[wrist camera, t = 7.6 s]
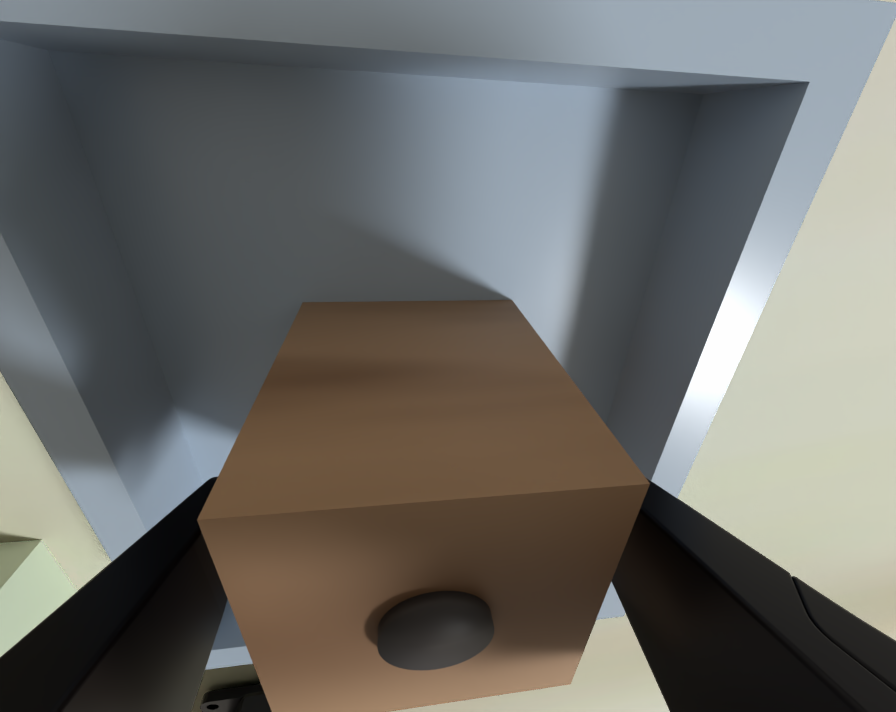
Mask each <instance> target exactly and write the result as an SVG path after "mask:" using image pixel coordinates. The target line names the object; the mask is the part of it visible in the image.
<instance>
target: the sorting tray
mask: <svg viewBox="0 0 896 712" xmlns="http://www.w3.org/2000/svg"><path fill="white" fill-rule="evenodd" d="M895 18H896V3H893V2H884V1H875V0H0V372H1V373H2V375H3V377H4V378H5V380H6V382H7V384H8V385H9V387H10V389H11V390H12V392H13V394H14V396H15V397H16V399H17V401H18V402H19V404H20V406H21V407H22V409H23V411H24V413H25V414H26V416H27V418H28V419H29V421H30V423H31V425H32V426H33V428H34V430H35V431H36V433H37V435H38V436H39V438H40V440H41V442H42V443H43V445H44V447H45V448H46V450H47V452H48V454H49V455H50V457H51V459H52V460H53V462H54V464H55V465H56V467H57V469H58V471H59V472H60V474H61V476H62V477H63V479H64V481H65V483H66V484H67V486H68V488H69V489H70V491H71V493H72V495H73V496H74V498H75V500H76V501H77V503H78V505H79V506H80V508H81V510H82V512H83V513H84V515H85V517H86V518H87V520H88V522H89V524H90V525H91V527H92V529H93V530H94V532H95V534H96V535H97V537H98V539H99V541H100V542H101V544H102V546H103V547H104V549H105V551H106V553H107V554H108V556H109V558H110V559H111V561H113V560H115V559H116V558H117V557H118V556H119V555H120V554H122V553H123V552H124V551H125V550H126V549H127V548H129V547H130V546H131V545H132V544H133V543H135V542H136V541H137V540H138V539H139V538H140V537H142V536H143V535H144V534H145V533H146V532H147V531H149V530H150V529H151V528H152V527H153V526H154V525H156V524H157V523H158V522H159V521H160V520H161V519H163V518H164V517H165V516H166V515H167V514H169V513H170V512H171V511H172V510H173V509H174V508H176V507H177V506H178V505H179V504H180V503H181V502H183V501H184V500H185V499H186V498H187V497H188V496H190V495H191V494H192V493H193V492H194V491H195V490H197V489H198V488H199V487H200V486H201V485H202V484H204V483H205V482H206V481H207V480H209V479H210V478H212V477H218V476H219V474H220V472H221V470H222V468H223V466H224V463H225V461H226V459H227V457H228V455H229V453H230V451H231V449H232V447H233V445H234V443H235V441H236V439H237V437H238V435H239V433H240V431H241V428H242V426H243V424H244V422H245V420H246V418H247V416H248V414H249V412H250V410H251V408H252V406H253V404H254V402H255V400H256V398H257V396H258V393H259V391H260V389H261V387H262V385H263V383H264V381H265V379H266V377H267V375H268V373H269V371H270V369H271V367H272V365H273V363H274V361H275V359H276V356H277V354H278V352H279V350H280V348H281V346H282V344H283V342H284V340H285V338H286V336H287V334H288V332H289V330H290V328H291V326H292V324H293V321H294V319H295V317H296V315H297V313H298V311H299V309H300V307H301V305H302V303H303V302H371V301H459V300H513V302H514V303H515V304H516V306H517V307H518V308H519V310H520V311H521V312H522V314H523V315H524V316H525V318H526V319H527V320H528V322H529V323H530V324H531V326H532V327H533V328H534V330H535V331H536V332H537V334H538V335H539V336H540V338H541V339H542V340H543V342H544V343H545V344H546V346H547V347H548V348H549V350H550V351H551V352H552V354H553V355H554V356H555V358H556V359H557V360H558V362H559V363H560V364H561V366H562V367H563V368H564V370H565V371H566V372H567V374H568V375H569V376H570V378H571V379H572V380H573V382H574V383H575V384H576V386H577V387H578V388H579V390H580V391H581V392H582V394H583V395H584V396H585V398H586V399H587V400H588V402H589V403H590V404H591V406H592V407H593V408H594V410H595V411H596V412H597V414H598V415H599V416H600V418H601V419H602V420H603V422H604V423H605V424H606V426H607V427H608V428H609V430H610V431H611V432H612V434H613V435H614V436H615V438H616V439H617V440H618V442H619V443H620V444H621V446H622V447H623V448H624V450H625V451H626V452H627V454H628V455H629V456H630V458H631V459H632V460H633V462H634V463H635V464H636V466H637V467H638V468H639V470H640V471H641V472H642V474H643V475H644V476H645V477H646V478H648V479H649V480H651V481H652V482H654V483H655V484H657V485H658V486H660V487H661V488H663V489H664V490H666V491H667V492H669V493H670V494H672V495H673V496H675V497H676V498H678V495H679V493H680V491H681V489H682V487H683V484H684V482H685V480H686V478H687V476H688V473H689V471H690V469H691V467H692V465H693V462H694V460H695V458H696V456H697V454H698V451H699V449H700V447H701V445H702V443H703V440H704V438H705V436H706V434H707V432H708V429H709V427H710V425H711V423H712V421H713V418H714V416H715V414H716V412H717V410H718V407H719V405H720V403H721V401H722V399H723V396H724V394H725V392H726V390H727V388H728V385H729V383H730V381H731V379H732V377H733V374H734V372H735V370H736V368H737V366H738V363H739V361H740V359H741V357H742V355H743V352H744V350H745V348H746V346H747V344H748V341H749V339H750V337H751V335H752V333H753V330H754V328H755V326H756V324H757V322H758V319H759V317H760V315H761V313H762V311H763V308H764V306H765V304H766V302H767V300H768V297H769V295H770V293H771V291H772V289H773V286H774V284H775V282H776V280H777V278H778V275H779V273H780V271H781V269H782V267H783V264H784V262H785V260H786V258H787V256H788V253H789V251H790V249H791V247H792V245H793V242H794V240H795V238H796V236H797V234H798V231H799V229H800V227H801V225H802V223H803V220H804V218H805V216H806V214H807V212H808V209H809V207H810V205H811V203H812V201H813V198H814V196H815V194H816V192H817V190H818V187H819V185H820V183H821V181H822V179H823V176H824V174H825V172H826V170H827V168H828V165H829V163H830V161H831V159H832V157H833V154H834V152H835V150H836V148H837V145H838V143H839V141H840V139H841V137H842V134H843V132H844V130H845V128H846V126H847V123H848V121H849V119H850V117H851V115H852V112H853V110H854V108H855V106H856V104H857V101H858V99H859V97H860V95H861V93H862V90H863V88H864V86H865V84H866V82H867V79H868V77H869V75H870V73H871V71H872V68H873V66H874V64H875V62H876V60H877V57H878V55H879V53H880V51H881V49H882V46H883V44H884V42H885V40H886V38H887V35H888V33H889V31H890V29H891V27H892V24H893V22H894V20H895ZM624 614H625V610H624V608H623V606H622V604H621V601H620V599H619V597H618V595H617V593H616V590H615V588H614V586H613V584H612V582H611V583H610V586H609V588H608V591H607V593H606V596H605V598H604V601H603V603H602V606H601V609H600V611H599V614H598V616H597V619H596V620H598V619H605V618H613V617H621V616H624ZM246 664H253V662H252V660H251V657H250V655H249V652H248V649H247V647H246V644H245V642H244V639H243V637H242V634H241V631H240V629H239V626H238V624H237V621H236V619H235V616H234V614H233V611H232V608H231V606H230V603H229V601H228V600H227V603H226V607H225V610H224V613H223V617H222V620H221V623H220V626H219V629H218V632H217V635H216V638H215V641H214V644H213V647H212V650H211V653H210V656H209V659H208V662H207V665H206V669H205V670H207V669H215V668H223V667H231V666H239V665H246Z"/></svg>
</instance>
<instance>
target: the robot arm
mask: <svg viewBox="0 0 896 712" xmlns="http://www.w3.org/2000/svg"><path fill="white" fill-rule="evenodd" d="M217 478H218V477H212V478H210V479H209V480H207V481H206V482H205V483H204V484H202V485H201V486H200V487H199V488H198V489H197V490H195V491H194V492H193V493H192V494H191V495H190V496H188V497H187V498H186V499H185V500H184V501H183V502H181V503H180V504H179V505H178V506H177V507H176V508H174V509H173V510H172V511H171V512H170V513H169V514H167V515H166V516H165V517H164V518H163V519H161V520H160V521H159V522H158V523H157V524H156V525H154V526H153V527H152V528H151V529H150V530H149V531H147V532H146V533H145V534H144V535H143V536H142V537H140V538H139V539H138V540H137V541H136V542H135V543H133V544H132V545H131V546H130V547H129V548H127V549H126V550H125V551H124V552H123V553H122V554H120V555H119V556H118V557H117V558H116V559H115V560H113V561H112V562H111V563H110V564H109V565H108V566H106V567H105V568H104V569H103V570H102V571H101V572H99V573H98V574H97V575H96V576H95V577H94V578H92V579H91V580H90V581H89V582H88V583H86V584H85V585H84V586H83V587H82V588H81V589H79V590H78V591H77V592H76V593H75V594H74V595H72V596H71V597H70V598H69V599H68V600H67V601H65V602H64V603H63V604H62V605H61V606H60V607H58V608H57V609H56V610H55V611H54V612H52V613H51V614H50V615H49V616H48V617H47V618H45V619H44V620H43V621H42V622H41V623H40V624H38V625H37V626H36V627H35V628H34V629H33V630H31V631H30V632H29V633H28V634H27V635H26V636H24V637H23V638H22V639H21V640H20V641H19V642H17V643H16V644H15V645H14V646H13V647H11V648H10V649H9V650H8V651H7V652H6V653H4V654H3V655H2V656H1V657H0V712H191V711H192V708H193V705H194V702H195V699H196V696H197V693H198V690H199V687H200V684H201V681H202V678H203V675H204V672H205V669H206V665H207V662H208V659H209V656H210V653H211V650H212V647H213V644H214V641H215V638H216V635H217V632H218V629H219V626H220V623H221V620H222V617H223V613H224V610H225V607H226V603H227V600H228V598H227V596H226V593H225V591H224V588H223V585H222V583H221V580H220V578H219V575H218V573H217V570H216V567H215V565H214V562H213V560H212V557H211V555H210V552H209V550H208V547H207V544H206V542H205V539H204V537H203V534H202V532H201V529H200V526H199V524H198V521H197V519H198V517H199V515H200V513H201V511H202V509H203V507H204V505H205V503H206V501H207V498H208V496H209V494H210V492H211V490H212V488H213V486H214V484H215V482H216V480H217ZM645 478H646V477H645ZM646 479H647V480H648V482H649V483H650V485H649V487H648V490H647V493H646V495H645V498H644V500H643V503H642V505H641V508H640V510H639V513H638V515H637V518H636V520H635V523H634V525H633V528H632V530H631V533H630V535H629V538H628V540H627V543H626V545H625V548H624V551H623V553H622V556H621V558H620V561H619V563H618V566H617V568H616V571H615V573H614V576H613V578H612V581H611V582H612V584H613V586H614V588H615V590H616V593H617V595H618V597H619V599H620V601H621V604H622V606H623V608H624V610H625V613H626V615H627V617H628V619H629V621H630V624H631V626H632V628H633V630H634V633H635V635H636V637H637V639H638V641H639V644H640V646H641V648H642V650H643V653H644V655H645V657H646V659H647V661H648V664H649V666H650V668H651V670H652V673H653V675H654V677H655V679H656V681H657V684H658V686H659V688H660V690H661V693H662V695H663V697H664V699H665V701H666V704H667V706H668V708H669V710H670V712H896V641H895V640H894V639H892V638H890V637H889V636H887V635H885V634H884V633H882V632H881V631H879V630H877V629H876V628H874V627H872V626H871V625H869V624H867V623H866V622H864V621H863V620H861V619H859V618H858V617H856V616H855V615H853V614H852V613H850V612H849V611H847V610H845V609H844V608H842V607H841V606H839V605H838V604H836V603H835V602H833V601H832V600H830V599H828V598H827V597H825V596H824V595H822V594H821V593H819V592H818V591H816V590H815V589H813V588H812V587H810V586H809V585H807V584H806V583H804V582H803V581H801V580H800V579H798V578H797V577H795V576H792V577H791V575H790V573H789V572H787V571H786V570H784V569H783V568H781V567H780V566H778V565H777V564H775V563H774V562H772V561H771V560H769V559H768V558H766V557H765V556H763V555H762V554H760V553H759V552H757V551H756V550H754V549H753V548H751V547H750V546H748V545H747V544H745V543H744V542H742V541H741V540H739V539H738V538H736V537H735V536H733V535H732V534H730V533H729V532H727V531H726V530H724V529H723V528H721V527H720V526H718V525H717V524H715V523H714V522H712V521H711V520H709V519H708V518H706V517H705V516H703V515H702V514H700V513H699V512H697V511H696V510H694V509H693V508H691V507H690V506H688V505H687V504H685V503H684V502H682V501H681V500H679V499H678V498H676V497H675V496H673V495H672V494H670V493H669V492H667V491H666V490H664V489H663V488H661V487H660V486H658V485H657V484H655V483H654V482H652V481H651V480H649V479H648V478H646ZM200 709H201V710H202V712H272V711H271V708H270V706H269V703H268V701H267V698H266V696H265V693H264V690H263V688H262V685H261V684H258V685H251V686H244V687H236V688H229V689H221V690H214V691H209V692H207V693H205V695H204V697H203V700H202V703H201V706H200Z"/></svg>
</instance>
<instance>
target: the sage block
mask: <svg viewBox="0 0 896 712" xmlns="http://www.w3.org/2000/svg"><path fill="white" fill-rule="evenodd" d="M76 592H77V589H76V588H75V587H74V585H73V584H72V582H71V581H70V579H69V578H68V576H67V575H66V573H65V572H64V571H63V569H62V568H61V566H60V565H59V563H58V562H57V560H56V559H55V558H54V556H53V555H52V553H51V552H50V550H49V549H48V547H47V546H46V545H45V543H44V542H43V540H31V541H19V542H6V543H0V657H1V656H2V655H3V654H4V653H6V652H7V651H8V650H9V649H10V648H11V647H13V646H14V645H15V644H16V643H17V642H19V641H20V640H21V639H22V638H23V637H24V636H26V635H27V634H28V633H29V632H30V631H31V630H33V629H34V628H35V627H36V626H37V625H38V624H40V623H41V622H42V621H43V620H44V619H45V618H47V617H48V616H49V615H50V614H51V613H52V612H54V611H55V610H56V609H57V608H58V607H60V606H61V605H62V604H63V603H64V602H65V601H67V600H68V599H69V598H70V597H71V596H72V595H74V594H75V593H76Z"/></svg>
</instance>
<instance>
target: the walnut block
mask: <svg viewBox="0 0 896 712" xmlns="http://www.w3.org/2000/svg"><path fill="white" fill-rule="evenodd" d="M649 485H650V483H649V482H648V480H647V479H646V478H645V476H644V475H643V474H642V472H641V471H640V470H639V468H638V467H637V466H636V464H635V463H634V462H633V460H632V459H631V458H630V456H629V455H628V454H627V452H626V451H625V450H624V448H623V447H622V446H621V444H620V443H619V442H618V440H617V439H616V438H615V436H614V435H613V434H612V432H611V431H610V430H609V428H608V427H607V426H606V424H605V423H604V422H603V420H602V419H601V418H600V416H599V415H598V414H597V412H596V411H595V410H594V408H593V407H592V406H591V404H590V403H589V402H588V400H587V399H586V398H585V396H584V395H583V394H582V392H581V391H580V390H579V388H578V387H577V386H576V384H575V383H574V382H573V380H572V379H571V378H570V376H569V375H568V374H567V372H566V371H565V370H564V368H563V367H562V366H561V364H560V363H559V362H558V360H557V359H556V358H555V356H554V355H553V354H552V352H551V351H550V350H549V348H548V347H547V346H546V344H545V343H544V342H543V340H542V339H541V338H540V336H539V335H538V334H537V332H536V331H535V330H534V328H533V327H532V326H531V324H530V323H529V322H528V320H527V319H526V318H525V316H524V315H523V314H522V312H521V311H520V310H519V308H518V307H517V306H516V304H515V303H514V302H513V300H459V301H371V302H303V303H302V305H301V307H300V309H299V311H298V313H297V315H296V317H295V319H294V321H293V324H292V326H291V328H290V330H289V332H288V334H287V336H286V338H285V340H284V342H283V344H282V346H281V348H280V350H279V352H278V354H277V356H276V359H275V361H274V363H273V365H272V367H271V369H270V371H269V373H268V375H267V377H266V379H265V381H264V383H263V385H262V387H261V389H260V391H259V393H258V396H257V398H256V400H255V402H254V404H253V406H252V408H251V410H250V412H249V414H248V416H247V418H246V420H245V422H244V424H243V426H242V428H241V431H240V433H239V435H238V437H237V439H236V441H235V443H234V445H233V447H232V449H231V451H230V453H229V455H228V457H227V459H226V461H225V463H224V466H223V468H222V470H221V472H220V474H219V476H218V478H217V480H216V482H215V484H214V486H213V488H212V490H211V492H210V494H209V496H208V498H207V501H206V503H205V505H204V507H203V509H202V511H201V513H200V515H199V517H198V519H197V521H198V524H199V526H200V529H201V532H202V534H203V537H204V539H205V542H206V544H207V547H208V550H209V552H210V555H211V557H212V560H213V562H214V565H215V567H216V570H217V573H218V575H219V578H220V580H221V583H222V585H223V588H224V591H225V593H226V596H227V598H228V601H229V603H230V606H231V608H232V611H233V614H234V616H235V619H236V621H237V624H238V626H239V629H240V631H241V634H242V637H243V639H244V642H245V644H246V647H247V649H248V652H249V655H250V657H251V660H252V662H253V665H254V667H255V670H256V672H257V675H258V678H259V680H260V683H261V685H262V688H263V690H264V693H265V696H266V698H267V701H268V703H269V706H270V708H271V711H272V712H389V711H396V710H402V709H409V708H416V707H422V706H429V705H436V704H442V703H449V702H455V701H462V700H469V699H475V698H482V697H489V696H495V695H502V694H508V693H515V692H522V691H528V690H535V689H542V688H548V687H555V686H562V685H568V684H571V682H572V679H573V677H574V674H575V672H576V669H577V667H578V664H579V661H580V659H581V656H582V654H583V651H584V649H585V646H586V644H587V641H588V639H589V636H590V634H591V631H592V629H593V626H594V624H595V621H596V619H597V616H598V614H599V611H600V609H601V606H602V603H603V601H604V598H605V596H606V593H607V591H608V588H609V586H610V583H611V581H612V578H613V576H614V573H615V571H616V568H617V566H618V563H619V561H620V558H621V556H622V553H623V551H624V548H625V545H626V543H627V540H628V538H629V535H630V533H631V530H632V528H633V525H634V523H635V520H636V518H637V515H638V513H639V510H640V508H641V505H642V503H643V500H644V498H645V495H646V493H647V490H648V487H649Z"/></svg>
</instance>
